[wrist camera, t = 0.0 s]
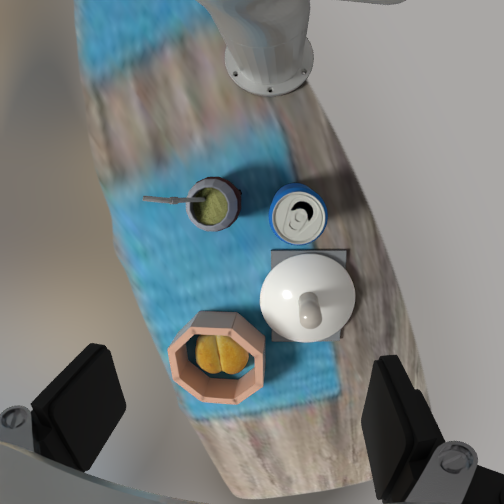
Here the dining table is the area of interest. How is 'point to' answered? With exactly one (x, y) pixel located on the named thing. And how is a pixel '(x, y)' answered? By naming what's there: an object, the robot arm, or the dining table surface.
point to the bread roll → (220, 354)
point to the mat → (283, 254)
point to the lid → (307, 297)
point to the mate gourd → (209, 203)
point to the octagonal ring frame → (215, 387)
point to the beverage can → (297, 214)
